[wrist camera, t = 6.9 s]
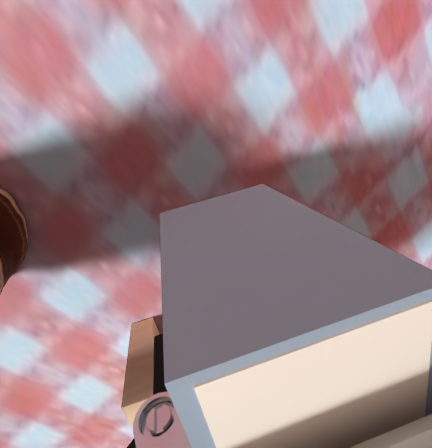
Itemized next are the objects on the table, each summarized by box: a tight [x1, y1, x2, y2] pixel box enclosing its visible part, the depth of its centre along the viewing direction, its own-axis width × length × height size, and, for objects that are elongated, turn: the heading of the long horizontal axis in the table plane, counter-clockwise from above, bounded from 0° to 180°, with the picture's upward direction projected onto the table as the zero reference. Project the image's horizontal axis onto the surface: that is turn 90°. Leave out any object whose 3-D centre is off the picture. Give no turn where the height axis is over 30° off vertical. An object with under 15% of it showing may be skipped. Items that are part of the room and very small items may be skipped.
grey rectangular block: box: [159, 184, 432, 448], centre depth 9 cm, size 9×4×8 cm, turn 13°
